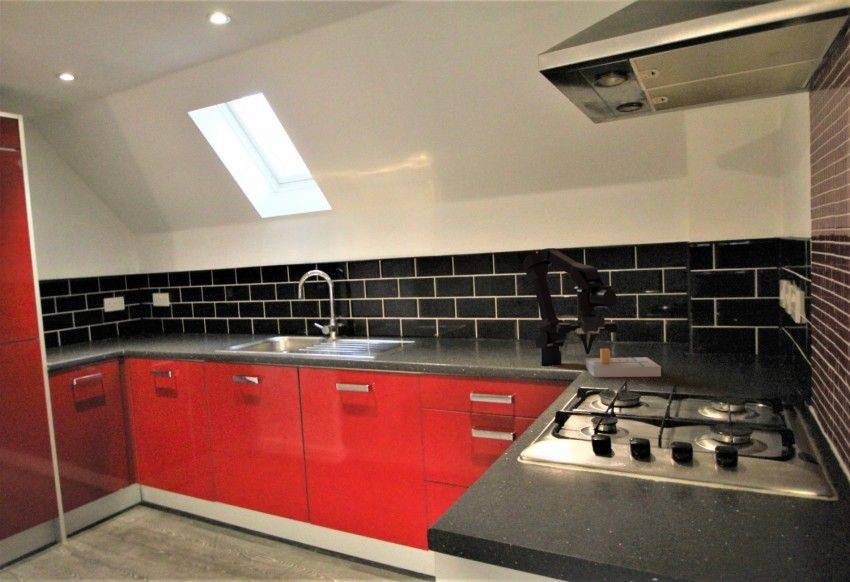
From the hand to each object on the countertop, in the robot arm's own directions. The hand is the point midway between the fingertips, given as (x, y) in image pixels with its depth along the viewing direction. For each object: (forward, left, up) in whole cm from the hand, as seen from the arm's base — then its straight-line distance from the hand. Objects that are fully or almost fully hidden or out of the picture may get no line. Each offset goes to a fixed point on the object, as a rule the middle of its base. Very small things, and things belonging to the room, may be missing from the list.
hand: (587, 354), depth 190 cm
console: (+11, 0, -6) cm, 12 cm away
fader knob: (+6, 0, -6) cm, 8 cm away
